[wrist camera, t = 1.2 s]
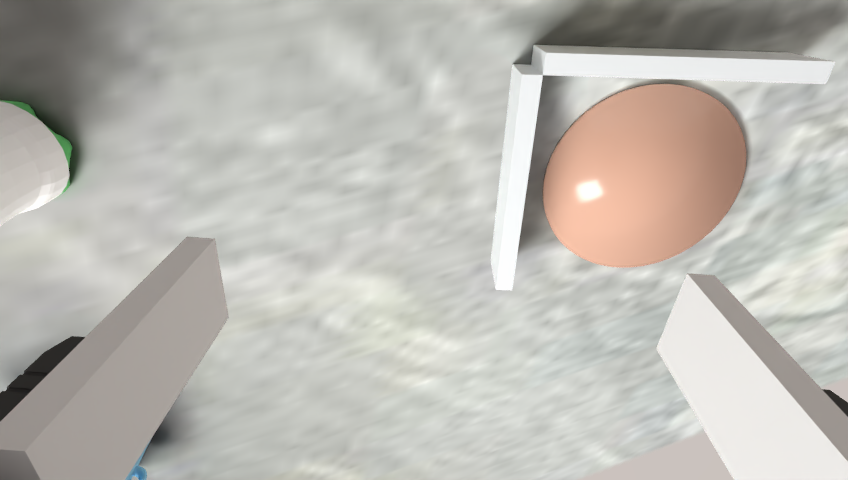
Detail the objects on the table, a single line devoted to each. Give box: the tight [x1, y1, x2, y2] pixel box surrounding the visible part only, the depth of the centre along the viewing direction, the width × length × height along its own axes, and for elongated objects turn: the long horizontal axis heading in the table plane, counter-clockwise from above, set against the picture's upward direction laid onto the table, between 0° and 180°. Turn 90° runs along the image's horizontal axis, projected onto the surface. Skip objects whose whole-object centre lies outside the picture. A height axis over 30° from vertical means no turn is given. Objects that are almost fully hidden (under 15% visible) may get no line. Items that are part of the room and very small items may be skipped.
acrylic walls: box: [491, 45, 835, 290], centre depth 31 cm, size 16×17×4 cm
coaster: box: [543, 84, 746, 267], centre depth 33 cm, size 14×14×1 cm
